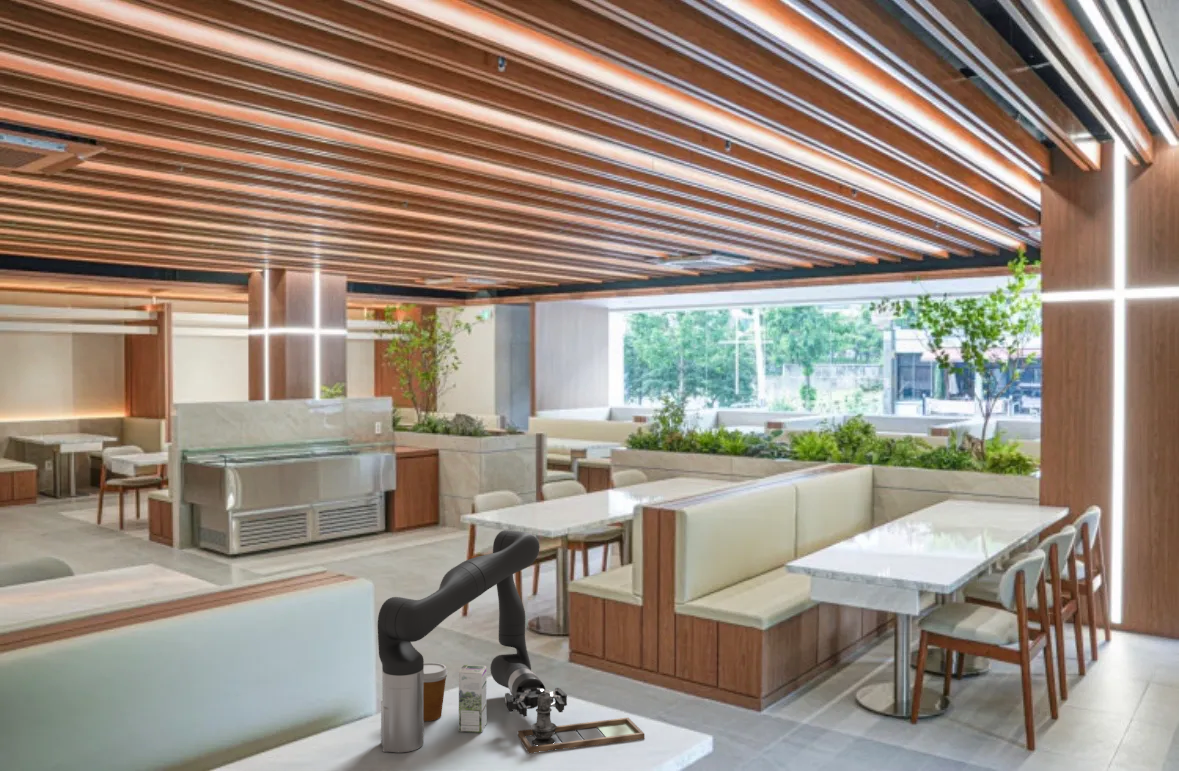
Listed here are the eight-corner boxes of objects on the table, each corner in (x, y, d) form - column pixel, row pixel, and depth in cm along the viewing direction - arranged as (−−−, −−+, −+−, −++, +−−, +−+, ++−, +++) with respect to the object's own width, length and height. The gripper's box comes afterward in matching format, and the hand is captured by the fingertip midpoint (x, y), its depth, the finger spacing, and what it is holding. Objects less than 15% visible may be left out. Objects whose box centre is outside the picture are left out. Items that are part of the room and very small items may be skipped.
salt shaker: (552, 748, 202) (553, 695, 202) (527, 745, 203) (528, 693, 203) (559, 738, 208) (559, 686, 208) (534, 736, 209) (534, 684, 209)
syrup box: (487, 724, 216) (487, 664, 216) (481, 733, 210) (481, 672, 210) (463, 723, 216) (464, 663, 217) (457, 732, 211) (458, 671, 211)
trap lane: (528, 753, 199) (529, 748, 199) (517, 735, 209) (517, 730, 209) (644, 738, 207) (644, 733, 207) (628, 722, 217) (628, 717, 217)
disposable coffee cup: (444, 724, 216) (444, 674, 216) (404, 723, 216) (405, 674, 216) (451, 709, 226) (451, 662, 226) (413, 709, 226) (413, 662, 226)
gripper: (498, 675, 219) (513, 697, 203) (553, 669, 223) (573, 690, 208) (497, 706, 219) (513, 730, 203) (553, 699, 223) (573, 723, 208)
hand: (543, 710), depth 205 cm, fingers open, 8 cm apart
